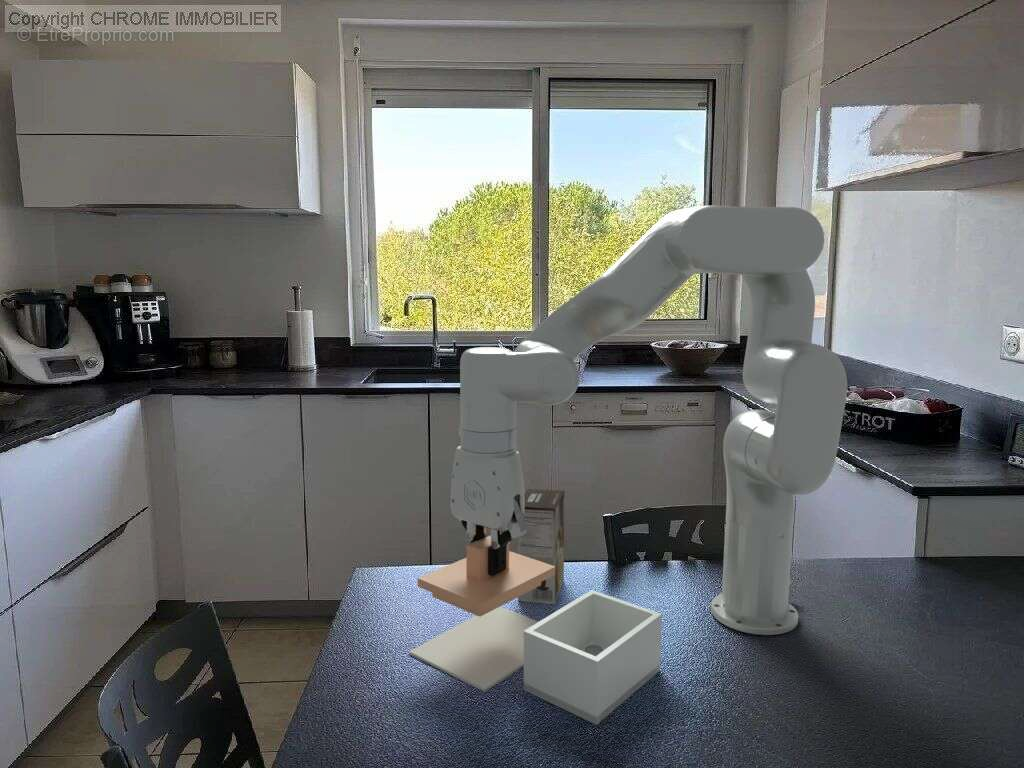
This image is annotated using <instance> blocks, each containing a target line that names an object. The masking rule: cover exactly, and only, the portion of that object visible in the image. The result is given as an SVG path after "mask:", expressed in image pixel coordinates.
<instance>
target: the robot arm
mask: <svg viewBox="0 0 1024 768" xmlns="http://www.w3.org/2000/svg"><path fill="white" fill-rule="evenodd" d="M824 245H825V232H824V229H823V226H822V224H821V222H820V221H819V220H818V218H817V217H816V216H815V215H813V213H811V212H809V211H808V210H806V209H803V208H800V207H796V206H794V207H793V206H779V207H778V206H737V205H736V206H735V205H734V206H731V205H730V206H729V205H701V206H694V207H687V208H681V209H677V210H672V211H671V212H669V213H667V214H666V215H664V216H663V217H662V218H660V219H659V220H658V221H657V222H655V223H654V224H653V226H651V227H650V228H649V229H648V230H647V231H646V232H645V233H644V234H643V235H641V237H640V238H639V239H638V240H637V241H636V242H635V243H634V244H633V245H632V246H630V248H629V249H628V250H626V251H625V253H623V254H622V255H621V256H620V257H619V258H618V259H617V260H616V261H615V262H614V263H613V264H612V265H610V267H609V268H607V269H606V270H605V271H604V272H603V273H602V274H601V275H599V277H598V278H596V279H595V280H594V281H592V282H591V283H589V284H588V285H587V286H586V287H584V288H582V290H580V291H579V292H577V294H575V295H574V296H573V297H571V298H570V299H569V300H567V301H566V302H564V303H563V304H562V305H561V306H560V307H557V309H556V310H554V311H553V312H552V313H551V314H549V315H548V316H547V317H545V319H543V321H541V322H540V323H539V324H538V325H537V326H536V327H535V328H534V329H533V330H532V331H531V332H530V333H528V335H527V336H526V337H525V338H523V340H522V341H520V343H519V344H518V345H517V346H516V347H515V349H514V351H512V350H511V349H509V348H507V347H506V348H505V347H496V346H480V347H473V348H469V349H466V350H464V351H463V352H462V354H461V356H460V362H459V369H460V370H459V373H460V374H459V379H460V381H459V382H460V385H459V386H460V388H459V389H460V390H459V391H460V392H459V393H460V394H459V396H460V397H459V398H460V400H459V401H460V405H459V406H460V409H459V411H460V425H459V427H458V428H457V435H459V436H460V445H458V446H457V447H456V450H455V453H454V458H453V463H452V470H451V471H452V472H451V479H450V480H451V481H450V482H451V483H450V512H451V514H452V515H453V516H454V517H455V518H456V519H457V520H458V521H459V522H461V524H462V526H463V528H464V530H465V531H466V539H467V540H468V541H470V543H473V542H475V541H478V540H480V539H483V538H485V537H488V536H489V535H486V534H487V529H490V535H491V547H489V548H488V574H489V575H490V576H494V575H496V574H498V573H500V572H502V571H504V570H505V569H506V557H507V544H509V545H510V543H511V542H512V540H514V539H516V538H518V537H520V536H522V535H524V534H526V533H527V529H526V526H525V523H524V520H523V518H524V508H525V497H524V495H525V481H524V473H523V466H522V460H521V454H520V451H518V450H517V429H518V428H517V425H518V424H517V422H518V417H517V414H518V413H517V412H518V406H517V405H518V403H520V404H522V403H525V404H531V405H532V404H534V405H540V406H554V405H558V404H559V405H560V404H562V403H565V402H566V401H568V400H569V399H570V398H571V397H572V396H573V395H574V394H575V393H576V391H577V389H578V387H579V384H580V377H581V376H580V371H579V367H578V366H577V364H576V362H575V360H576V359H577V358H578V357H579V356H580V355H581V354H583V353H584V352H586V351H587V350H588V349H590V348H591V347H592V346H594V345H596V344H597V343H599V342H601V341H602V340H605V339H607V338H609V337H611V336H614V335H619V334H621V333H625V332H627V331H629V330H632V329H634V328H635V327H638V326H639V325H641V324H643V323H644V322H645V321H647V319H649V317H650V316H651V315H652V314H654V313H655V312H656V311H657V309H658V308H660V306H661V305H663V303H665V302H666V301H667V300H668V299H669V298H670V297H671V296H672V295H673V294H674V293H676V291H677V290H679V288H680V287H682V286H683V285H684V284H685V283H686V282H687V281H688V280H689V279H690V278H691V277H693V275H694V274H717V275H718V274H719V275H739V276H740V275H741V277H742V278H743V280H744V282H745V283H746V286H747V288H748V291H749V294H750V301H751V305H750V306H751V310H750V322H749V329H748V334H747V340H746V347H745V354H744V361H743V368H742V381H743V386H744V387H745V389H746V391H747V392H748V393H749V394H750V395H751V396H752V397H754V398H756V399H757V400H760V401H762V402H764V403H767V404H770V405H772V406H776V409H775V412H773V411H769V410H765V409H752V410H751V409H749V410H746V411H744V412H741V413H739V414H738V415H736V416H735V417H734V418H733V419H732V420H731V421H730V422H729V424H728V425H727V427H726V430H725V433H724V436H723V443H722V451H723V453H722V454H723V461H724V469H725V477H726V506H725V521H724V522H725V529H724V543H723V544H724V547H723V549H724V550H723V568H722V569H723V570H722V571H723V572H722V589H721V591H722V592H721V593H719V594H717V595H715V597H713V598H712V600H711V603H710V611H711V614H712V615H713V617H714V618H715V619H716V620H717V621H718V622H719V623H721V624H722V625H724V626H726V627H728V628H730V629H733V630H735V631H739V632H742V633H746V634H751V635H758V636H759V635H761V636H775V635H781V634H786V633H789V632H791V631H793V630H795V628H797V626H798V623H799V612H798V610H797V609H796V607H794V605H792V604H791V603H790V602H789V593H790V592H789V591H790V585H791V584H792V579H791V575H790V574H791V560H792V559H791V558H792V545H793V544H792V543H793V532H794V531H793V530H794V529H793V528H794V520H795V498H794V496H803V495H804V496H806V495H809V494H811V493H814V492H816V491H817V490H819V489H820V488H821V487H822V486H823V485H824V484H825V483H826V482H827V480H828V479H829V477H830V475H831V473H832V471H833V469H834V466H835V462H836V459H837V454H838V447H839V443H840V436H841V430H842V424H843V419H844V414H845V407H846V400H847V396H848V395H847V394H848V380H847V379H848V378H847V373H846V370H845V366H844V364H843V363H842V361H841V359H840V358H839V356H838V355H837V354H836V353H835V352H834V351H832V350H831V349H829V348H827V347H826V346H823V345H820V344H817V343H812V342H813V341H812V340H813V332H814V331H813V329H814V319H815V310H816V296H815V290H814V286H813V282H812V280H811V279H812V278H810V276H809V273H808V271H807V269H809V268H810V267H811V266H813V265H814V263H815V262H817V261H818V259H819V257H820V256H821V254H822V251H823V249H824Z"/></svg>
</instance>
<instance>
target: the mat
mask: <svg viewBox="0 0 1024 768" xmlns="http://www.w3.org/2000/svg"><path fill="white" fill-rule="evenodd" d="M538 622H539V621H538V620H535V619H533V618H530V617H528V616H525V615H523V614H520V613H518V612H516V611H512V610H510V609H507V608H505V607H503V606H500V607H498V608H496V609H494V610H492V611H490V612H488V613H486V614H484V615H483V616H481V617H479V616H477V615H474V616H472V617H471V618H469V619H467V620H465V621H463V622H461V623H460V624H457V625H455V626H454V627H452V628H450V629H449V630H446V631H444V632H442V633H440V634H439V635H437V636H435V637H433V638H432V639H430V640H428V641H426V642H424V643H422V644H420V645H419V646H416V647H415V648H412V649H410V650H409V651H408V652H409V655H410V656H412V657H415V658H416V659H419V660H420V661H422V662H424V663H426V664H428V665H431V666H432V667H434V668H437V669H438V670H440V671H442V672H445V673H447V674H448V675H450V676H452V677H454V678H456V679H458V680H460V681H462V682H464V683H465V684H468V685H470V686H471V687H474V688H476V689H478V690H480V691H482V692H483V693H485V692H487V691H488V690H490V689H491V688H492V687H494V686H496V685H497V684H499V683H500V682H502V681H503V680H505V679H506V678H508V677H509V676H511V675H512V674H514V673H515V672H516V671H519V670H520V669H522V668H524V630H526V629H528V628H529V627H531V626H533V625H534V624H536V623H538Z"/></svg>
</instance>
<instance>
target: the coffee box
mask: <svg viewBox="0 0 1024 768" xmlns="http://www.w3.org/2000/svg"><path fill="white" fill-rule="evenodd" d="M524 497H525V508H524V518H523V520H524V523H525V526H526V529H527V533H526V534H524V535H522V536H520V537H517V554H520V555H523V556H526V557H529V558H532V559H535V560H538V561H541V562H544V563H547V564H550V565H553V566H555V575H553V576H552V577H550V578H548V579H546V580H544V581H542V582H541V585H540V586H538V587H536V588H534V589H532V590H530V591H529V592H527V593H525V594H523V595H521V596H519V597H517V600H518V602H520V601H523V602H524V603H532V602H533V603H534V604H545V605H557V603H558V599H559V596H560V593H561V590H562V587H563V584H564V581H565V574H564V573H565V571H564V570H565V566H564V565H565V490H563V489H562V490H561V489H560V490H559V489H557V490H556V489H536V488H534V489H533V488H528V489H527V490H526V491H525V492H524Z"/></svg>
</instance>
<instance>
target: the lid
mask: <svg viewBox="0 0 1024 768" xmlns="http://www.w3.org/2000/svg"><path fill="white" fill-rule="evenodd" d="M487 536H488V537H485V538H483V539H480V540H478V541H475V542H473V543H471V542H470V543H468V544H466V557H465V558H462V559H459V560H457V561H455V562H453V563H450V564H448V565H445V566H443V567H441V568H439V569H437V570H434V571H432V572H429V573H426V574H424V575H422V576H419V577H417V588H420V589H422V590H425V591H427V592H430V593H432V595H431V597H432V598H435V599H437V600H440V601H442V602H444V603H446V604H448V605H451V606H454V607H456V608H458V609H461V610H462V611H465V612H467V613H469V614H472V615H474V616H476V615H477V616H479V617H481V616H483V615H484V614H486V613H488V612H490V611H492V610H494V609H496V608H498V607H503V605H505V604H507V603H510V602H511V601H513V600H515V599H518V597H519V596H521V595H523V594H525V593H527V592H529V591H530V590H532V589H534V588H536V587H538V586H540V585H541V582H542V581H544V580H546V579H548V578H550V577H552V576H553V575H555V566H553V565H550V564H547V563H544V562H541V561H538V560H535V559H532V558H529V557H526V556H523V555H520V554H518V552H514V551H510V543H509V544H507V557H506V569H505V570H504V571H502V572H500V573H498V574H496V575H494V576H490V575H489V574H488V548H489V547H491V534H490V535H487Z"/></svg>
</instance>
